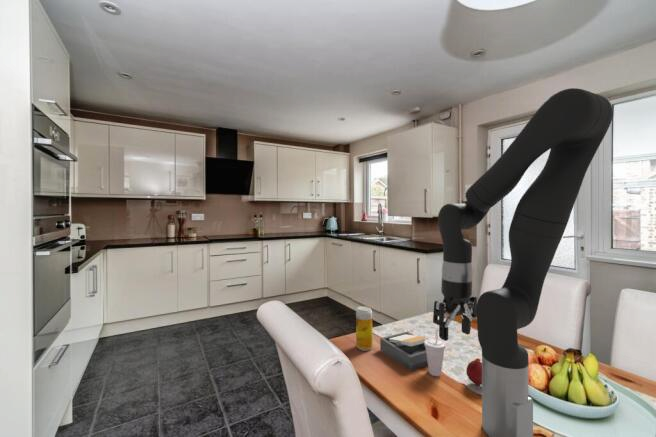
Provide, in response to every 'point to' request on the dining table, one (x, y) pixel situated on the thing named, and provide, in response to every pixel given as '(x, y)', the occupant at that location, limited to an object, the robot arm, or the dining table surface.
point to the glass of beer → (364, 328)
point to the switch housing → (405, 352)
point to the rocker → (407, 340)
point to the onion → (475, 371)
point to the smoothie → (434, 355)
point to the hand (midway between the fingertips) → (455, 336)
